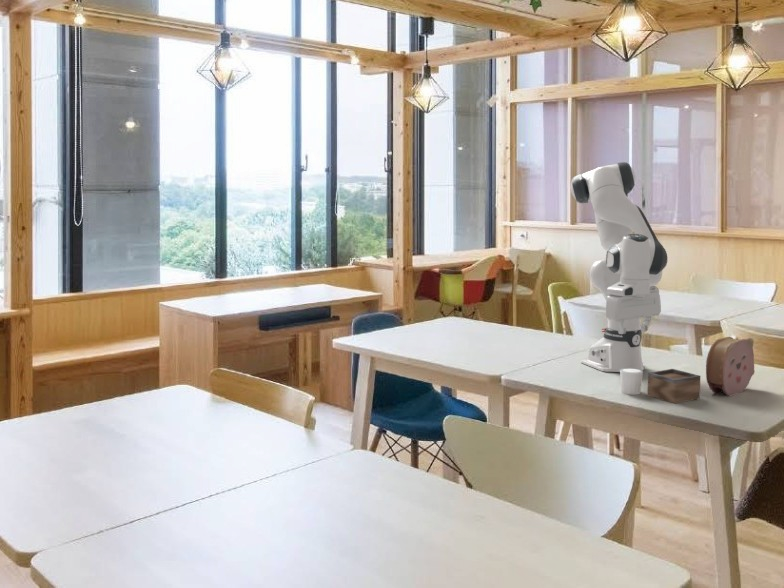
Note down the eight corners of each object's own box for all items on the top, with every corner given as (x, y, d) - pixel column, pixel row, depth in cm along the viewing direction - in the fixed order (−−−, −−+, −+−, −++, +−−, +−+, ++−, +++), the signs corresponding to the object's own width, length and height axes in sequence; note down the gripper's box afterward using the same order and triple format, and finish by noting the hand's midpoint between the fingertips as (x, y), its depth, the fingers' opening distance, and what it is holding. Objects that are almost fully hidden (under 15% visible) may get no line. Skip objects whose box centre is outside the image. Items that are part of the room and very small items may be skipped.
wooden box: (647, 395, 248) (648, 372, 247) (671, 390, 253) (672, 368, 252) (674, 403, 239) (676, 380, 238) (699, 398, 244) (700, 375, 243)
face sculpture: (724, 399, 243) (727, 345, 240) (703, 395, 248) (705, 341, 245) (754, 387, 256) (757, 336, 253) (733, 383, 261) (736, 333, 258)
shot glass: (630, 396, 247) (631, 373, 246) (614, 391, 253) (615, 369, 252) (647, 393, 250) (647, 371, 249) (630, 388, 256) (631, 366, 255)
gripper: (650, 284, 254) (649, 327, 256) (602, 288, 244) (601, 333, 246) (666, 286, 249) (664, 330, 251) (618, 291, 239) (616, 337, 241)
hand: (633, 332), depth 249 cm, fingers open, 8 cm apart
